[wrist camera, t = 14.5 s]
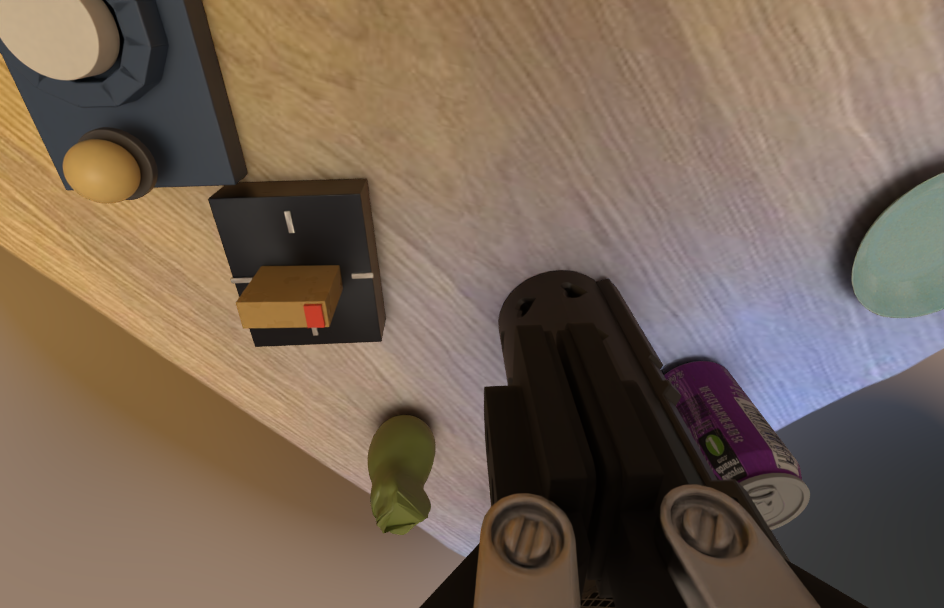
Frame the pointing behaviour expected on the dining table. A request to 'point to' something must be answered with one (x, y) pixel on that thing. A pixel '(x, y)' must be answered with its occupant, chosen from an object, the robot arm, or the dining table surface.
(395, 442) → the pear
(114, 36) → the power button
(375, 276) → the base
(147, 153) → the lamp dome
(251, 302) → the orange brown rectangular block
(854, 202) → the dining table surface
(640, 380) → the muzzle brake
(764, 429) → the beverage can
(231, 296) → the dining table surface
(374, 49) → the dining table surface
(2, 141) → the dining table surface
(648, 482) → the robot arm
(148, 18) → the button base
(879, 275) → the saucer
